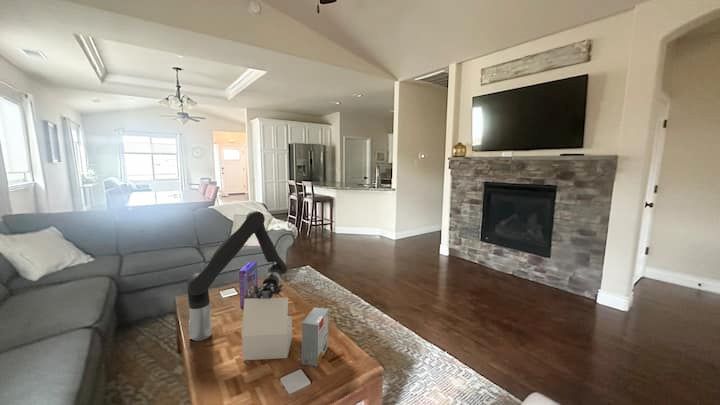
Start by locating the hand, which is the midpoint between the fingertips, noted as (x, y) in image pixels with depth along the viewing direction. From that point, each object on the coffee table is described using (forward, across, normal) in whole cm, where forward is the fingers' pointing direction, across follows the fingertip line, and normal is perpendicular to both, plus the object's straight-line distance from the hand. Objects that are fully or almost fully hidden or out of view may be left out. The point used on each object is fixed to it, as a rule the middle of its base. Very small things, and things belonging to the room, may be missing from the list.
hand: (264, 296), depth 131 cm
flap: (-2, 0, +9) cm, 9 cm away
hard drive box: (+1, +23, +30) cm, 38 cm away
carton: (-6, 0, +29) cm, 30 cm away
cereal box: (-57, -23, +30) cm, 68 cm away
